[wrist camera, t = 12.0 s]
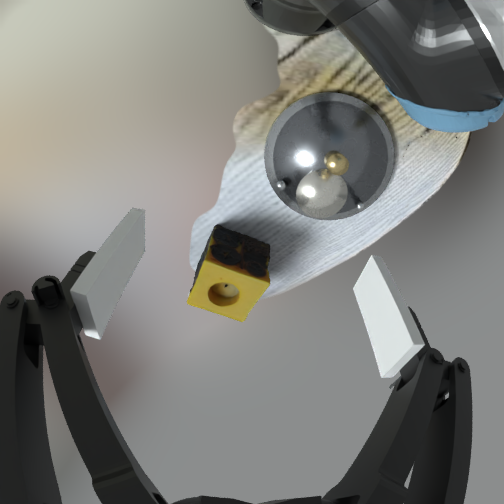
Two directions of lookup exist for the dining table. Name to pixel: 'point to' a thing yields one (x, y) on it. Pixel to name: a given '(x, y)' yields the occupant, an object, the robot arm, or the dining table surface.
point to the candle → (230, 274)
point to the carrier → (329, 156)
